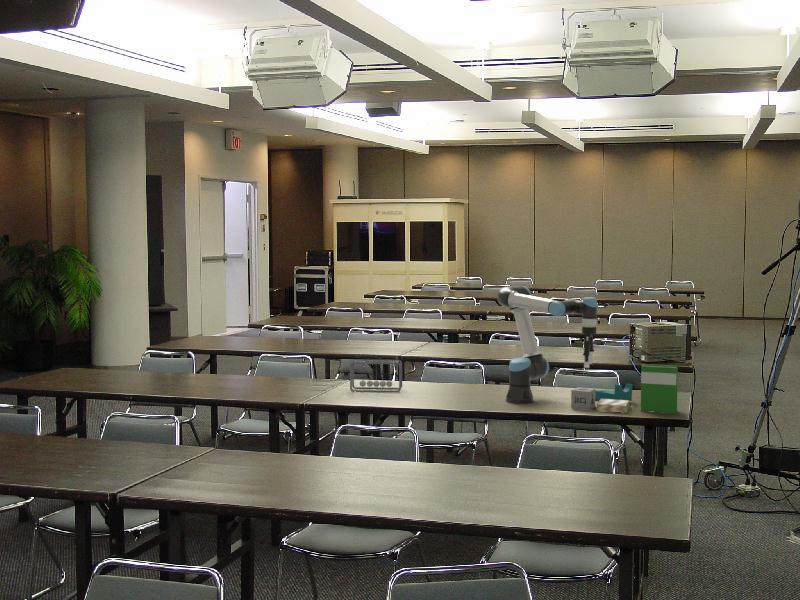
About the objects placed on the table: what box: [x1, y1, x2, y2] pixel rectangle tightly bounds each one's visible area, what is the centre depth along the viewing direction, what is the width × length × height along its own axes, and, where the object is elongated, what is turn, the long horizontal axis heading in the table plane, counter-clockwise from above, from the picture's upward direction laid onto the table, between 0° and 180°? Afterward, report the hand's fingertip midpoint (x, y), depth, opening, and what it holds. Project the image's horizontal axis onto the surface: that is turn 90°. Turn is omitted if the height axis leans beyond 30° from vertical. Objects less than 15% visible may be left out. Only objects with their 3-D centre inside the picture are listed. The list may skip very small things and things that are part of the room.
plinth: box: [595, 399, 631, 414], centre depth 493 cm, size 15×15×4 cm
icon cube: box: [570, 386, 597, 411], centre depth 498 cm, size 10×10×10 cm
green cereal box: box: [640, 363, 679, 414], centre depth 488 cm, size 18×7×24 cm, turn 68°
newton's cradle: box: [349, 359, 403, 393], centre depth 550 cm, size 30×10×18 cm, turn 85°
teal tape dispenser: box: [595, 383, 634, 402], centre depth 516 cm, size 18×11×10 cm, turn 40°
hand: (588, 365), depth 500 cm, fingers open, 13 cm apart
